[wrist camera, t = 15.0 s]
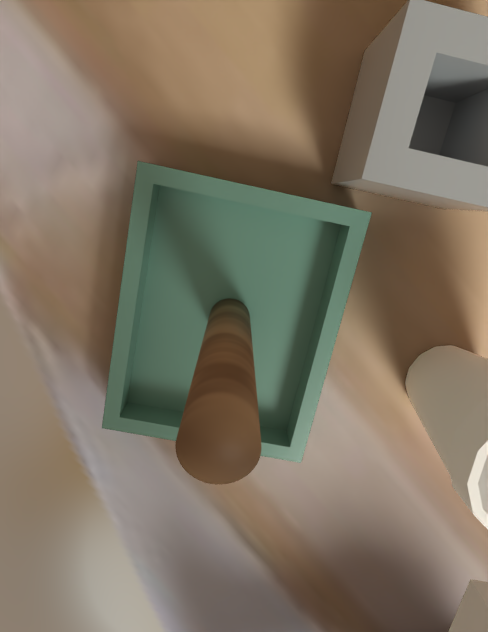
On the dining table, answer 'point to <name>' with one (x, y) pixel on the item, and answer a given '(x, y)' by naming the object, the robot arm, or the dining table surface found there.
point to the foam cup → (455, 417)
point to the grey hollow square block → (421, 111)
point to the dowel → (222, 401)
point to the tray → (228, 282)
